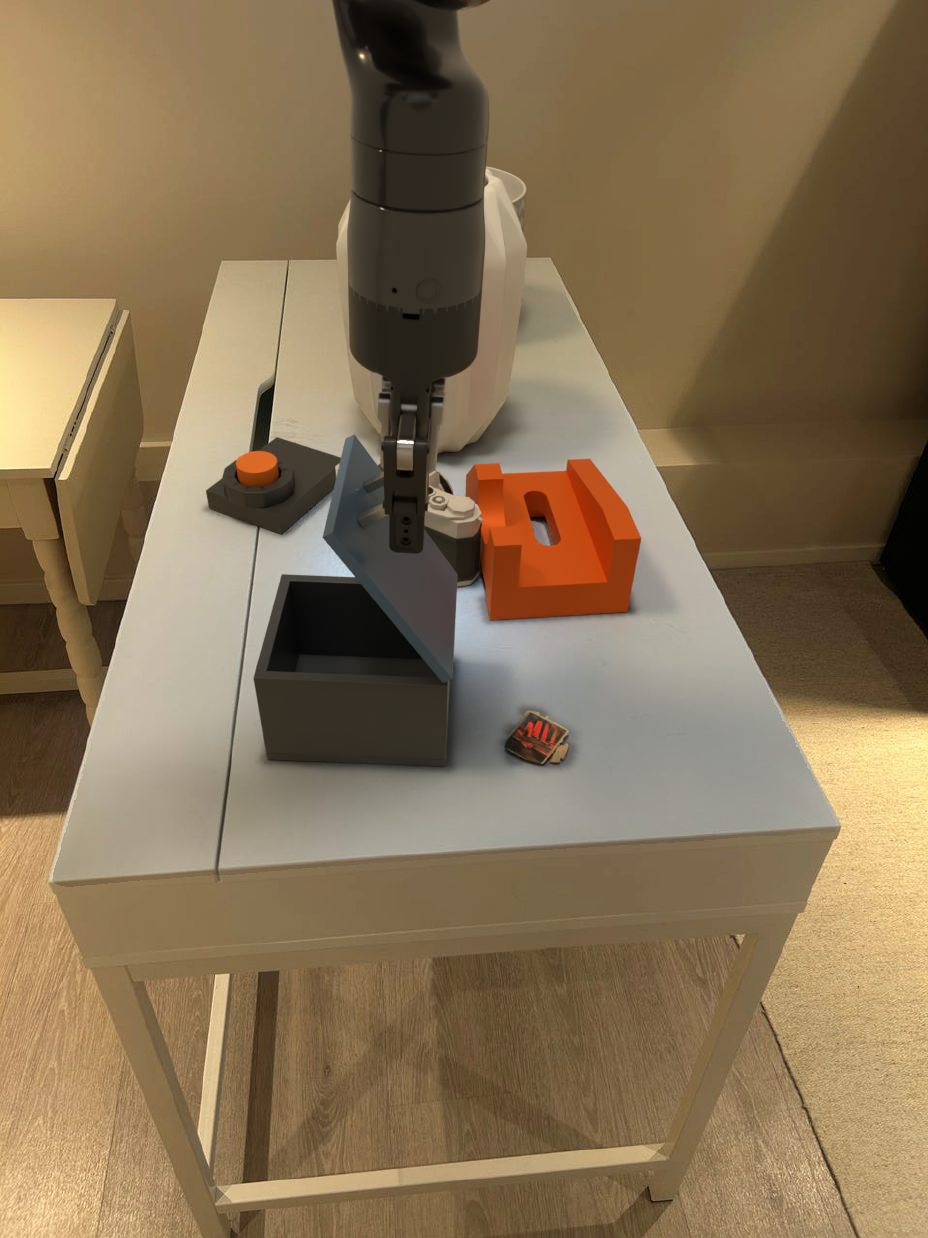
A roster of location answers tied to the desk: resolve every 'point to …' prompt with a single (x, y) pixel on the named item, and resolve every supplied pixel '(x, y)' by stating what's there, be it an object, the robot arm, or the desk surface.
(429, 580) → the lid
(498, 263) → the vase
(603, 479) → the orange slotted stand
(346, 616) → the open box
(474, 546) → the camera
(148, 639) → the desk surface
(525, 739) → the matchbox
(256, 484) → the button
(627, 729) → the desk surface
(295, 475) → the control block
